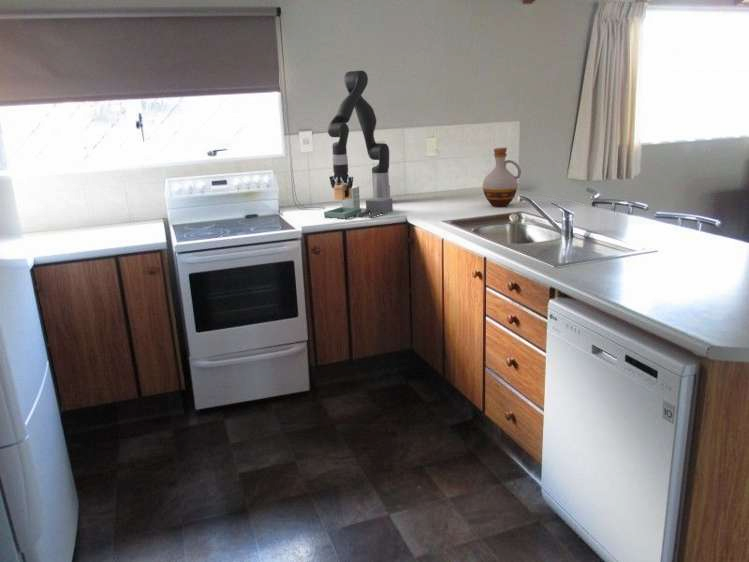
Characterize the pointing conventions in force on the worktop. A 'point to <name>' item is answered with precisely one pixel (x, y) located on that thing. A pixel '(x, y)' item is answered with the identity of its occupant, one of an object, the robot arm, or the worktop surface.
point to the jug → (500, 181)
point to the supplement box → (352, 199)
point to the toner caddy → (341, 192)
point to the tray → (342, 212)
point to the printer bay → (377, 207)
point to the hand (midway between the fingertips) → (342, 196)
